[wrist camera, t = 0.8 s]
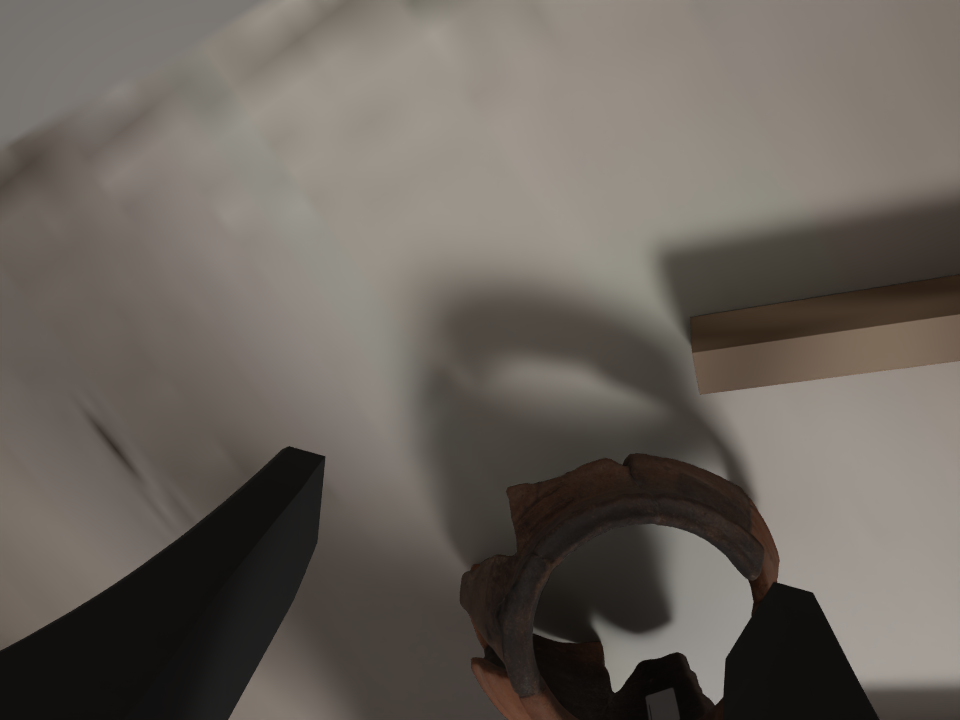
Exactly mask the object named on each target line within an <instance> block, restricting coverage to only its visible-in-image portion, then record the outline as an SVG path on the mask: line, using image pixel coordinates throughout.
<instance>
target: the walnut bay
mask: <svg viewBox="0 0 960 720" xmlns="http://www.w3.org/2000/svg"><path fill="white" fill-rule="evenodd" d="M690 318H691V340H692V355H693V361H694V366H695V371H696V377H697V382H698V388H699V393H700V395H701V394H708V393H716V392H724V391H732V390H739V389H747V388H755V387H762V386H770V385H778V384H786V383H793V382H801V381H809V380H817V379H824V378H832V377H840V376H847V375H855V374H863V373H871V372H878V371H886V370H894V369H901V368H909V367H917V366H925V365H932V364H940V363H948V362H956V361H960V275H955V276H949V277H942V278H936V279H930V280H923V281H917V282H911V283H904V284H898V285H892V286H885V287H879V288H873V289H867V290H860V291H854V292H848V293H841V294H835V295H829V296H822V297H816V298H810V299H803V300H797V301H791V302H784V303H778V304H772V305H765V306H759V307H753V308H746V309H740V310H734V311H727V312H721V313H715V314H708V315H702V316H696V317H690Z"/></svg>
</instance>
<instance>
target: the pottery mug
mask: <svg viewBox="0 0 960 720" xmlns="http://www.w3.org/2000/svg"><path fill="white" fill-rule="evenodd" d="M506 493H507V495H508V498H509V503H510V510H511V518H512V521H513V526H514V529H515V534H516V540H517V553H516V554H515V555H514V556H506V555H495V556H493V557H491V558H489V559H486V560H485V561H483V562H482V563H481V564H480V565H479V564H476V565H473V566H472V568H471V571H468V572H466V573H464V574H463V576H462V581H461V589H460V604H461V606H462V607H463V608H464V609H465V610H466V611H467V613H468V614H469V616H470V618H471V621H472V623H473V626H474V629H475V631H476V634H477V637H478V639H479V641H480V643H481V645H482V647H483V648H484V653H485V657H484V659H483V658H477V657H474V658H472V659H471V668H472V671H473V673H474V675H475V677H476V678H477V680H478V682H479V684H480V686H481V687H482V689H483V691H484V692H485V693H486V694H487V696H488V697H489V698H490V700H491V701H492V703H493V704H494V705H495V706H496V707H497V709H498V710H499V711H500V712H501V713H502V714H503V715H504V716H505V717H506V718H507V719H508V720H723V698H722V699H721V700H720V701H719V703H717V704H716V705H714V703H713V702H712V701H711V700H710V699H709V698H708V697H706V696H705V695H704V694H703V693H702V689H701V688H700V686H699V684H698V680H697V676H696V674H695V673H694V672H693V671H692V670H690V666H689V664H688V661H687V658H686V657H685V656H684V655H683V654H681V653H678V652H676V653H672V654H669V655H667V656H664V657H662V658H658V659H650V660H644V661H641V662H640V663H639V664H638V665H637V666H636V668H635V670H634V672H633V673H632V674H631V676H630V677H629V678H628V679H627V681H626V682H625V684H624V685H623V687H622V688H621V689H620V690H619V691H618V692H616V693H614V692H613V691H612V688H611V683H610V676H609V673H608V670H607V669H606V667H605V661H604V651H603V646H602V644H601V643H600V642H586V643H562V642H557V641H553V640H550V639H547V638H544V637H541V636H539V635H536V634H533V622H534V617H535V612H536V607H537V605H538V601H539V598H540V595H541V593H542V590H543V588H544V587H545V584H546V583H547V581H548V579H549V576H550V573H551V572H552V570H553V569H554V568H555V567H557V566H558V564H560V563H561V562H562V560H563V559H564V558H565V557H566V556H567V555H568V554H570V553H571V552H573V551H575V550H576V549H577V548H578V547H580V546H581V545H582V544H584V543H585V542H586V541H589V540H590V539H591V538H593V537H595V536H597V535H599V534H601V533H603V532H606V531H608V530H610V529H613V528H618V527H622V526H627V525H635V524H656V525H663V526H669V527H675V528H679V529H682V530H685V531H688V532H690V533H693V534H696V535H697V536H699V537H701V538H703V539H705V540H707V541H708V542H710V543H711V544H712V545H714V546H715V547H717V548H718V549H719V550H720V551H721V552H722V553H724V554H725V555H726V556H727V557H728V559H729V560H730V561H731V563H732V564H733V565H734V566H735V567H736V568H737V570H738V571H739V572H740V573H741V574H742V575H743V576H744V577H745V578H747V579H748V580H749V583H750V586H751V590H752V596H753V601H754V603H753V609H752V614H751V615H752V616H753V614H754V612H755V611H756V609H757V608H758V606H759V604H760V603H761V601H762V599H763V598H764V596H765V595H766V593H767V591H768V590H769V588H770V587H771V585H772V583H773V582H776V583H777V578H778V567H779V562H780V560H779V555H778V551H777V548H776V546H775V543H774V540H773V538H772V535H771V533H770V531H769V529H768V527H767V525H766V523H765V521H764V519H763V518H762V516H761V515H760V513H759V511H758V510H757V508H756V506H755V505H754V503H753V502H752V500H751V499H750V498H749V497H748V496H747V495H746V493H745V492H744V491H743V490H742V489H741V488H740V487H739V486H737V485H735V484H733V483H731V482H730V481H728V480H726V479H724V478H722V477H720V476H718V475H715V474H713V473H711V472H709V471H706V470H704V469H701V468H698V467H696V466H694V465H691V464H688V463H685V462H681V461H678V460H674V459H669V458H662V457H657V456H651V455H647V454H639V453H636V454H630V455H629V456H628V457H627V458H626V459H625V461H624V463H623V465H621V464H619V463H617V462H615V461H614V460H612V459H608V458H603V459H599V460H596V461H593V462H590V463H587V464H585V465H582V466H580V467H579V468H577V469H575V470H573V471H571V472H567V473H566V474H564V475H562V476H560V477H557V478H553V479H550V480H547V481H543V482H538V483H534V484H528V483H525V484H519V485H515V486H511V487H508V488H507V490H506Z"/></svg>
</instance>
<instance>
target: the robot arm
mask: <svg viewBox="0 0 960 720" xmlns="http://www.w3.org/2000/svg"><path fill="white" fill-rule="evenodd" d="M324 466H325V456H322V455H318V454H315V453H311V452H308V451H304V450H300V449H297V448H293V447H290V446H289V447H286V448H284V449H282V450H281V451H280V452H279V453H278V454H277V455H276V456H275V457H274V458H273V459H272V460H271V461H269V462H268V463H267V464H266V465H265V466H264V467H263V468H262V469H261V470H260V471H259V472H258V473H256V474H255V475H254V476H253V477H252V478H251V479H250V480H249V481H248V482H246V483H245V484H244V485H243V486H242V487H241V488H240V489H238V490H237V491H236V492H235V493H234V494H233V495H232V496H230V497H229V498H228V499H227V500H226V501H225V502H223V503H222V504H221V505H220V506H218V507H217V508H216V509H215V510H214V511H212V512H211V513H210V514H209V515H207V516H206V517H205V518H204V519H202V520H201V521H200V522H199V523H197V524H196V525H195V526H194V527H193V528H191V529H190V530H189V531H188V532H186V533H185V534H184V535H182V536H181V537H180V538H178V539H177V540H176V541H174V542H173V543H172V544H170V545H169V546H168V547H166V548H165V549H163V550H162V551H161V552H159V553H158V554H157V555H155V556H154V557H152V558H151V559H150V560H148V561H147V562H146V563H144V564H143V565H142V566H140V567H139V568H137V569H136V570H135V571H133V572H132V573H130V574H129V575H127V576H126V577H124V578H123V579H121V580H120V581H118V582H117V583H115V584H114V585H112V586H111V587H109V588H108V589H106V590H105V591H103V592H102V593H100V594H98V595H97V596H95V597H93V598H92V599H90V600H89V601H87V602H85V603H84V604H82V605H81V606H79V607H77V608H76V609H74V610H72V611H71V612H69V613H67V614H66V615H64V616H62V617H60V618H59V619H57V620H55V621H53V622H52V623H50V624H48V625H46V626H45V627H43V628H41V629H39V630H38V631H36V632H34V633H32V634H31V635H29V636H27V637H25V638H23V639H22V640H20V641H18V642H16V643H14V644H12V645H10V646H9V647H7V648H5V649H3V650H1V651H0V720H228V719H229V717H230V715H231V713H232V712H233V710H234V708H235V706H236V704H237V702H238V701H239V699H240V697H241V695H242V693H243V692H244V690H245V688H246V686H247V684H248V682H249V681H250V679H251V677H252V675H253V673H254V672H255V670H256V668H257V666H258V664H259V663H260V661H261V659H262V657H263V655H264V653H265V652H266V650H267V648H268V646H269V644H270V643H271V641H272V639H273V637H274V635H275V633H276V632H277V630H278V628H279V626H280V624H281V622H282V620H283V619H284V617H285V615H286V613H287V611H288V609H289V608H290V606H291V604H292V602H293V600H294V598H295V595H296V593H297V591H298V588H299V586H300V584H301V581H302V579H303V576H304V574H305V571H306V569H307V567H308V564H309V562H310V559H311V557H312V554H313V552H314V549H315V547H316V544H317V540H318V529H319V519H320V508H321V498H322V487H323V477H324ZM723 720H879V718H878V716H877V714H876V712H875V711H874V709H873V707H872V705H871V704H870V702H869V700H868V698H867V696H866V694H865V692H864V690H863V689H862V687H861V685H860V683H859V681H858V679H857V677H856V675H855V673H854V671H853V670H852V668H851V666H850V664H849V662H848V660H847V658H846V656H845V654H844V652H843V650H842V648H841V646H840V644H839V642H838V640H837V638H836V636H835V635H834V633H833V631H832V629H831V627H830V625H829V623H828V621H827V619H826V617H825V615H824V613H823V611H822V609H821V607H820V605H819V603H818V601H817V600H816V598H815V596H814V594H813V593H812V592H809V591H805V590H801V589H798V588H794V587H791V586H787V585H784V584H780V583H776V582H773V583H772V585H771V587H770V588H769V590H768V591H767V593H766V595H765V596H764V598H763V599H762V601H761V603H760V604H759V606H758V608H757V609H756V611H755V612H754V614H753V616H752V617H751V619H750V620H749V622H748V624H747V625H746V627H745V629H744V630H743V632H742V633H741V635H740V637H739V638H738V640H737V641H736V643H735V645H734V646H733V648H732V650H731V651H730V653H729V654H728V656H727V658H726V661H725V678H724V696H723Z"/></svg>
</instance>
